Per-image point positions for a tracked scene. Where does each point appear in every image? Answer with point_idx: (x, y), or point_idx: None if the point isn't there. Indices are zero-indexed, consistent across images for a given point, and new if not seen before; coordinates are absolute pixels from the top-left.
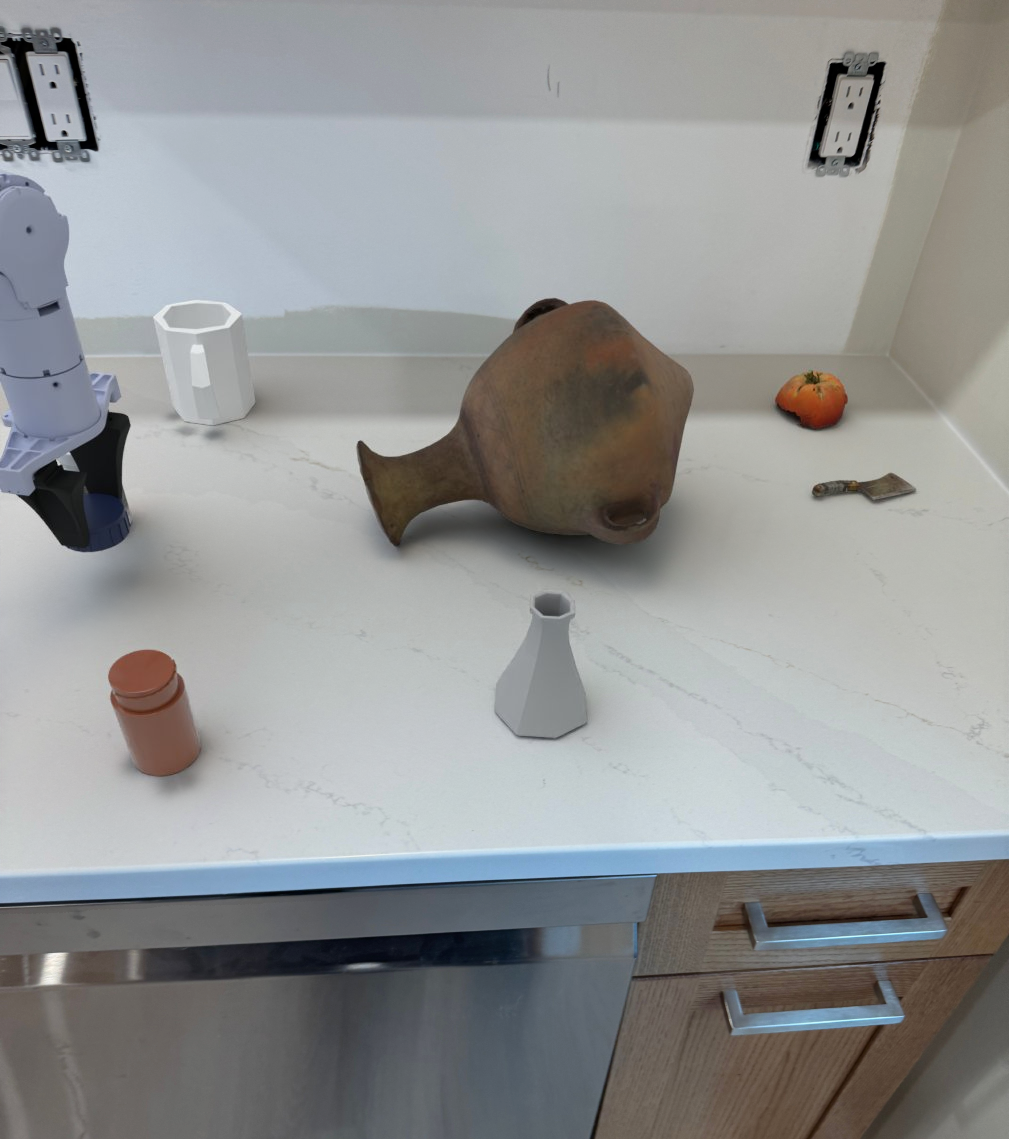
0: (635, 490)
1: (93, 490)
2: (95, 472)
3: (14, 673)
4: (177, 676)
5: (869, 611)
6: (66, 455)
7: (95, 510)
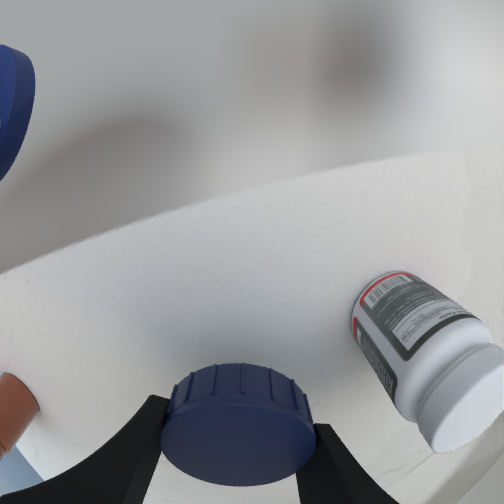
0: None
1: (318, 453)
2: (323, 499)
3: (43, 259)
4: (5, 453)
5: None
6: (445, 413)
7: (241, 462)
